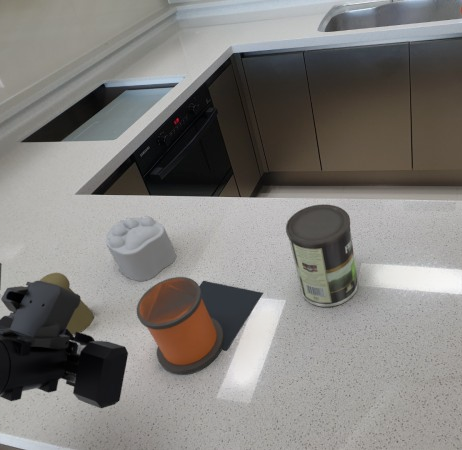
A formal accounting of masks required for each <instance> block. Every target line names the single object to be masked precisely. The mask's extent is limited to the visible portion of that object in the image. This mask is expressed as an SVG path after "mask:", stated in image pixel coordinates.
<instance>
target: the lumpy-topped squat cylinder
mask: <svg viewBox="0 0 462 450" xmlns="http://www.w3.org/2000/svg"><path fill="white" fill-rule="evenodd" d="M105 244H106V247H107V249H108V250H109V253H110V254H111V256H112V258H113V259H114V261H115V263H116V266H117V267H118V269H119V271H120V272H121V273H122V274H123V275H125V276H126V277H128V279H131V280H133V281H136V282H147V281H149V280H151V279H153V278H154V277H156V276H157V275H158V274H159V273H160V272H161V271H162V270H164V269H165V268H166V267H169V266H171V265H172V264H173V263H174V262H175V261H176V259H177V253H176V250H175V248H174V246H173V244H172V241H171V240H170V237H169V235H168V232H167V230H166V228H165V226H164V225H163V224H162V223H161V222H159V221H157V220H155V219H154V217H152V216H150V215H144V216H135V217H127V218H125V219H123V220H120V221H118V222H116V223H115V224H113V225H112V226H111V227H110V228H109V230H108V231H107V233H106V236H105Z"/></svg>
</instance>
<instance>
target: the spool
mask: <svg viewBox="0 0 462 450" xmlns="http://www.w3.org/2000/svg"><path fill="white" fill-rule="evenodd" d="M199 286H200V284H199V283H197V281H196V280H194V279H192V278H190V277H187V276H186V277H185V276H176V277H170V278H167V279H164V280H161V281H159V282H157V283H156V284H154V285H153V286H151V287H150V288H148V290H146V292H144V293H143V294H142V295H141V297H140V298H139V301H138V303H137V305H136V316H137V319H138V320H139V322H140V324H141V325H143V326H144V327H145V328H146V329H147V330H148V331H149V333H150V335H151V337H152V338H153V340H154V342H155V343H156V345H157V347H156V356H157V360H158V362H159V363H160V365H161V366H162V368H163V369H164V370H165V371H167V372H169V373H171V374H174V375H189V374H193V373H197V372H199V371H201V370H203V369H204V368H206V367H208V366H209V365H210V364H211V363H213V361H215V359H216V358H217V357H218V356H219V355H220V353H221V351H222V347H223V344H224V332H223V330H222V327H221V325H220V324H219V323H218V321H216V320H215V319H213V318H211V317H210V316H209V313H208V311H207V309H206V307H205V305H204V302H203V300H202V292H201V289H200V287H199Z"/></svg>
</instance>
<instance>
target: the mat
mask: <svg viewBox="0 0 462 450" xmlns="http://www.w3.org/2000/svg"><path fill="white" fill-rule="evenodd" d="M199 287H200V289H201V292H202V300H203V302H204V305H205V307H206V309H207V311H208V313H209V316H210V317H211V318H213V319H215V320H216V321H218V323H219V324H220V325H221V327H222V330H223V332H224V344H223V347H222V349H221V351H228V350H229V348H230V346H231V345H232V343H233V342H234V340H235V338H236V337H237V335H238V333H239V332H240V330H241V329H242V327H243V325H244V324H245V322H246V321H247V320H248V317H249V316H250V314H251V313H252V311H253V310H254V308H255V307H256V305H257V303H258V301H259V300H260V299H261V297H262V295H263V294H264V293H263V292H261V291H255V290H252V289H246V288H242V287H236V286H231V285H228V284H227V285H226V284H222V283H216V282H212V281H206V280H203V281H202V282H201V283H200V284H199Z"/></svg>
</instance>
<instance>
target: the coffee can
mask: <svg viewBox="0 0 462 450" xmlns="http://www.w3.org/2000/svg"><path fill="white" fill-rule="evenodd" d="M285 233H286V236H287V238H288V241H289V245H290V250H291V253H292V257H293V261H294V265H295V269H296V274H297V278H298V283H299V287H300V293H301V295H302V297H303V299H304V300H305V301H307V302H308V303H309V304H311V305H314V306H316V307H320V308H321V307H322V308H329V307H330V308H331V307H335V306H339V305H342V304H344V303H346V302H348V301H349V300H350V299H351V298H352V297H354V295H355V294H356V292H357V291H358V286H359V280H358V276H357V269H356V261H355V253H354V246H353V238H352V237H353V236H352V230H351V218H350V215H349V213H348V212H347V211H346V210H345V209H343V208H342V207H339V206H337V205H333V204H315V205H310V206H306V207H304V208H302V209H299V210H298V211H297V212H295V213H293V214H292V215H291V216H290V217H289V219H288V220H287V222H286V225H285Z"/></svg>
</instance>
